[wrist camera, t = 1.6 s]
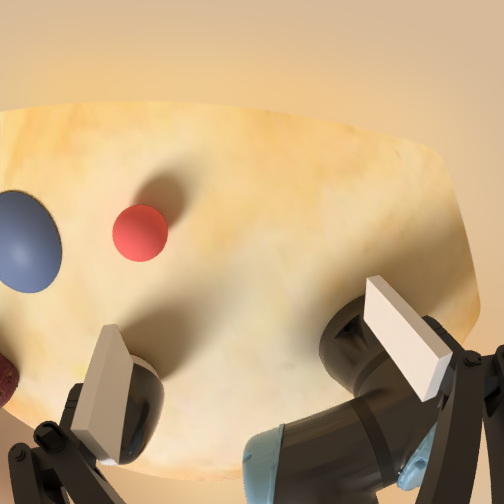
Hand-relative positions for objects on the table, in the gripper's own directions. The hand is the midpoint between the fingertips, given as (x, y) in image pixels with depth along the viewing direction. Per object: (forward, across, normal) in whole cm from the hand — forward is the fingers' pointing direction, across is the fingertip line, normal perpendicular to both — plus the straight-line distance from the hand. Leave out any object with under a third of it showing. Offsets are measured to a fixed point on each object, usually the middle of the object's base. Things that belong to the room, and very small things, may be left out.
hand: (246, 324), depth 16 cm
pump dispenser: (+19, +16, +19) cm, 32 cm away
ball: (+16, +8, 0) cm, 18 cm away
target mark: (+19, +25, -1) cm, 32 cm away
